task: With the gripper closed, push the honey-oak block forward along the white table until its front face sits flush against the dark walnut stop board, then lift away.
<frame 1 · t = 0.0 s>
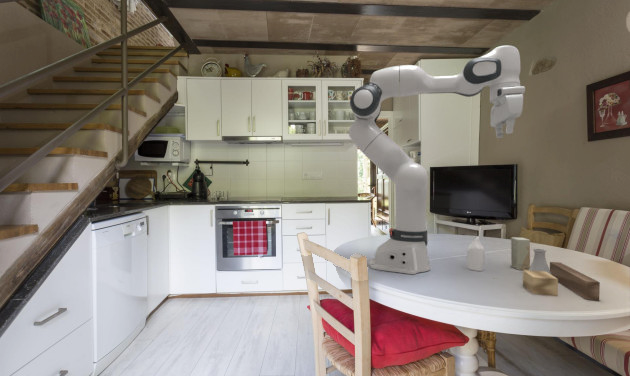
hand: (504, 135, 101), 48 cm above the table, fingers open, 8 cm apart
flask: (539, 280, 96), on the table
box: (520, 268, 109), on the table
white bottle: (475, 269, 109), on the table
oak block: (539, 291, 87), on the table
walnut board: (571, 287, 89), on the table
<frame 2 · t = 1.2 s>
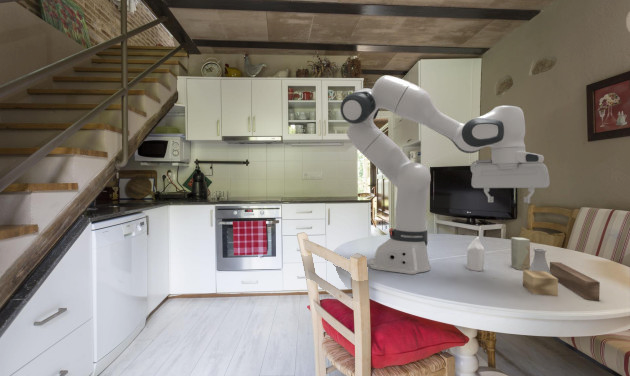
hand: (508, 202, 92), 26 cm above the table, fingers open, 8 cm apart
nothing on the table moved.
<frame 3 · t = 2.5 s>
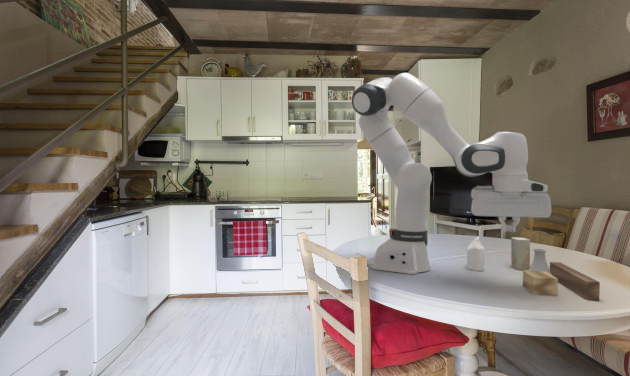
hand: (509, 231, 89), 17 cm above the table, fingers closed
nothing on the table moved.
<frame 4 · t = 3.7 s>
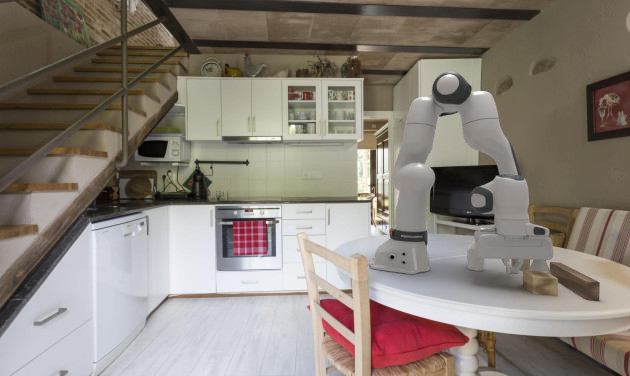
hand: (512, 273, 89), 4 cm above the table, fingers closed
nothing on the table moved.
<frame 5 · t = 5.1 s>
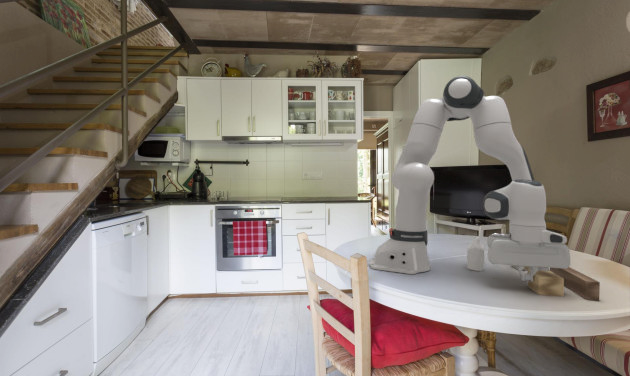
hand: (526, 280, 87), 3 cm above the table, fingers closed
oak block: (544, 290, 86), on the table, touching gripper
everything else where it was.
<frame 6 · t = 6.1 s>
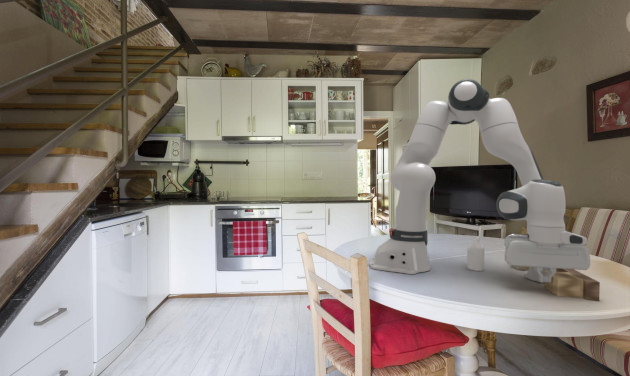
hand: (544, 282, 86), 3 cm above the table, fingers closed
oak block: (563, 292, 85), on the table, touching gripper, walnut board
everything else where it was.
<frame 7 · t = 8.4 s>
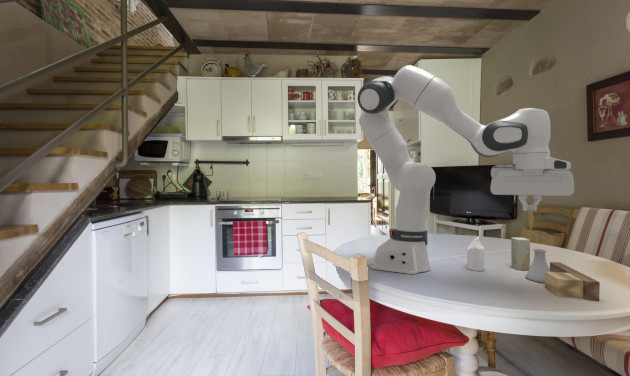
hand: (529, 210, 87), 23 cm above the table, fingers closed
oak block: (563, 292, 85), on the table
everything else where it was.
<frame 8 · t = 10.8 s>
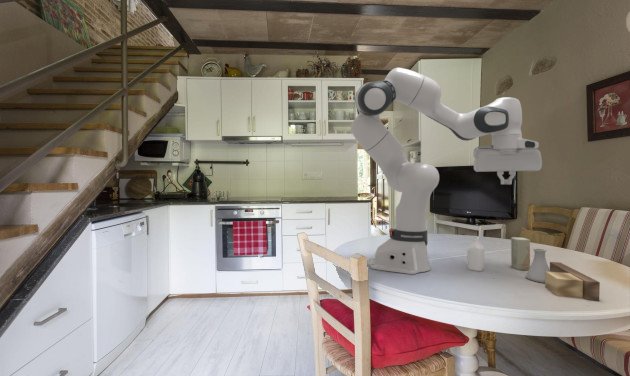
hand: (506, 184, 103), 31 cm above the table, fingers closed
nothing on the table moved.
at the end: oak block 0.4 cm from the target spot on the table beside the walnut board, on the table; oak block tilted 0° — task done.
